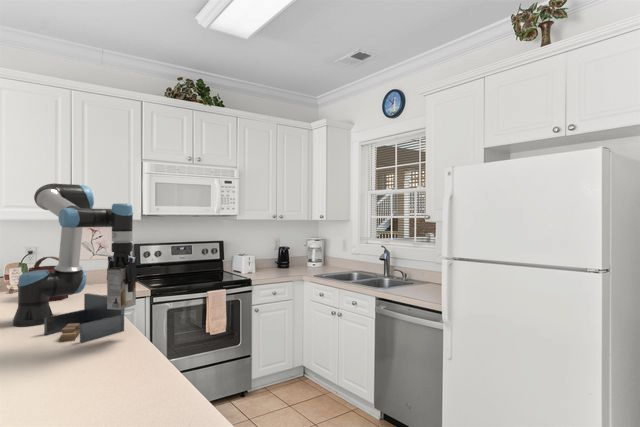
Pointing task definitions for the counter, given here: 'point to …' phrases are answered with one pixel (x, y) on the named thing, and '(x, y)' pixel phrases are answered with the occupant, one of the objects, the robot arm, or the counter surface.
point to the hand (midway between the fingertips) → (121, 299)
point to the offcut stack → (70, 332)
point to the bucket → (51, 269)
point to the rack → (89, 319)
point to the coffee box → (118, 289)
